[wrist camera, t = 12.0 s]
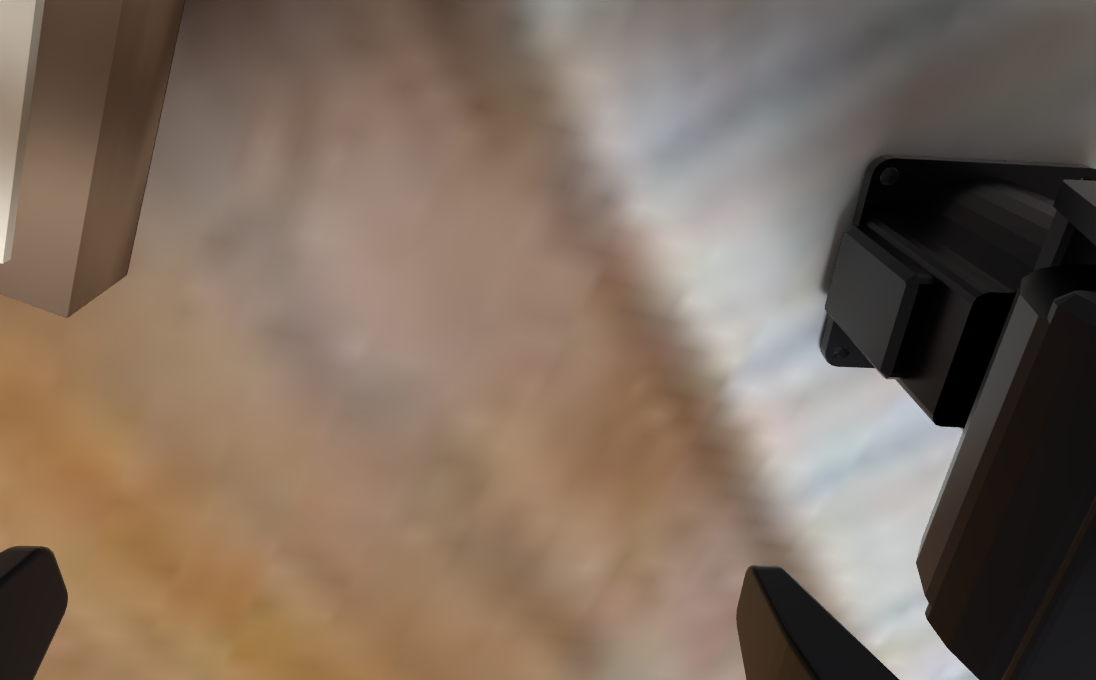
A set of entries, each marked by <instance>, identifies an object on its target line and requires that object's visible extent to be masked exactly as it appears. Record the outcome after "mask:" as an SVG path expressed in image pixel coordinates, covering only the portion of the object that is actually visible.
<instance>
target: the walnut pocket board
mask: <svg viewBox="0 0 1096 680" xmlns="http://www.w3.org/2000/svg"><path fill="white" fill-rule="evenodd" d="M184 1H185V0H0V294H1V295H4V296H7V297H10V298H12V299H15V300H18V301H21V302H23V303H26V304H29V305H32V306H34V307H37V308H40V309H43V310H45V311H48V312H51V313H54V314H57V315H59V316H62V317H65V318H68V317H69V316H71V315H72V314H74V313H75V312H76V311H78V310H79V309H80V308H82V307H83V306H85V305H86V304H87V303H89V302H90V301H92V300H93V299H94V298H96V297H97V296H99V295H100V294H101V293H103V292H104V291H105V290H107V289H108V288H110V287H111V286H112V285H114V284H115V283H117V282H118V281H119V280H121V279H122V278H124V277H125V276H126V275H127V271H128V266H129V261H130V257H131V252H132V247H133V242H134V238H135V233H136V228H137V224H138V219H139V214H140V209H141V205H142V200H143V195H144V190H145V186H146V181H147V176H148V171H149V167H150V162H151V157H152V153H153V148H154V143H155V138H156V134H157V129H158V124H159V119H160V115H161V110H162V105H163V100H164V96H165V91H166V86H167V82H168V77H169V72H170V67H171V63H172V58H173V53H174V48H175V44H176V39H177V34H178V29H179V25H180V20H181V15H182V11H183V6H184Z"/></svg>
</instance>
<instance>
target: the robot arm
mask: <svg viewBox="0 0 1096 680" xmlns="http://www.w3.org/2000/svg"><path fill="white" fill-rule="evenodd" d="M890 167H892V175H891V177H890V178H889V179H888V180H886V181H883V182H881V181H880V176H881V174H882V172H883V171H884V170H885V169H886V168H890ZM1081 178H1084V179H1083V180H1080V179H1081ZM825 310H826V311H827V312H828V314H829V316H828V320H827V324H826V328H825V332H824V336H823V340H822V344H821V353H822V355H823V357H824V358H825V359H826V361H827V362H828V363H829V364H831V365H833V366H837V367H861V368H876V369H877V370H878V371H879V373H880V374H881V375H882V376H883V377H884V378H886V379H895V380H896V381H897V382H898V383H899V384H900V385H901V386H902V387H903V389H904V390H905V391H906V392H907V393H908V394H909V395H910V396H911V398H912V399H913V400H914V401H915V402H916V403H917V404H918V405H919V407H920V408H921V409H922V410H923V411H924V412H925V413H926V414H927V416H928V417H929V418H930V419H931V420H932V421H933V422H934V423H935V424H936V425H938V426H942V427H960V428H961V429H962V430H963V433H962V436H961V438H960V441H959V443H958V446H957V449H956V451H955V454H954V457H953V459H952V462H951V464H950V467H949V470H948V472H947V475H946V477H945V480H944V483H943V485H942V488H941V490H940V493H939V496H938V498H937V501H936V503H935V506H934V509H933V511H932V514H931V516H930V519H929V522H928V524H927V527H926V530H925V532H924V535H923V537H922V541H921V545H920V549H919V553H918V557H917V561H916V564H917V568H918V572H919V575H920V579H921V583H922V586H923V590H924V594H925V596H926V598H927V600H928V602H929V604H928V606H927V609H926V612H925V615H926V618H927V620H928V622H929V623H930V624H931V626H932V627H933V629H934V630H935V631H936V633H937V634H938V636H939V637H940V638H941V640H942V641H943V643H944V644H945V645H946V647H947V648H948V649H949V650H950V651H951V652H952V653H953V654H954V655H955V656H956V657H957V658H958V659H959V660H960V661H961V662H962V663H963V664H964V665H965V666H966V667H967V668H968V669H969V670H970V671H971V672H972V673H973V674H974V675H975V676H976V677H977V678H978V679H979V680H1096V169H1093V168H1090V167H1087V166H1084V165H1077V164H1057V163H1038V162H1018V161H998V160H979V159H959V158H939V157H920V156H900V155H884V156H880V157H878V158H876V159H874V160H873V161H872V162H871V163H870V164H869V166H868V168H867V170H866V173H865V177H864V180H863V184H862V188H861V192H860V196H859V200H858V204H857V208H856V212H855V215H854V219H853V223H852V226H850V227H849V228H848V229H847V230H846V231H845V232H844V233H843V237H842V241H841V245H840V249H839V253H838V257H837V260H836V264H835V268H834V272H833V276H832V280H831V284H830V288H829V292H828V296H827V300H826V304H825ZM841 345H845V347H844V349H843V350H842V351H841V352H840V353H836V354H834V353H833V352H834V350H835V348H837V347H838V346H841ZM67 602H68V593H67V589H66V586H65V584H64V581H63V578H62V575H61V572H60V570H59V567H58V564H57V561H56V558H55V556H54V554H53V552H52V551H51V550H50V549H49V548H46V547H42V546H15V547H11V548H8V549H6V550H4V551H3V552H1V553H0V680H33V679H34V677H35V675H36V673H37V671H38V669H39V667H40V664H41V662H42V660H43V658H44V656H45V654H46V652H47V650H48V647H49V645H50V643H51V641H52V639H53V637H54V635H55V633H56V630H57V628H58V626H59V624H60V622H61V620H62V618H63V616H64V613H65V611H66V607H67ZM736 620H737V629H738V635H739V641H740V646H741V652H742V657H743V663H744V668H745V674H746V680H899V679H898V678H897V677H896V676H895V675H894V674H893V673H892V672H891V671H889V670H888V669H887V668H886V667H885V666H884V665H883V664H882V663H881V662H880V661H879V660H878V659H877V658H876V657H875V656H874V655H873V654H872V653H871V652H870V651H869V650H868V649H867V648H865V647H864V646H863V645H862V644H861V643H860V642H859V641H858V640H857V639H856V638H855V637H854V636H853V635H852V634H851V633H850V632H849V631H848V630H847V629H846V628H845V627H844V626H843V625H842V624H840V623H839V622H838V621H837V620H836V619H835V618H834V617H833V616H832V615H831V614H830V613H829V612H828V611H827V610H826V609H825V608H824V607H823V606H822V605H821V604H820V603H819V602H818V601H816V600H815V599H814V598H813V597H812V596H811V595H810V594H809V593H808V592H807V591H806V590H805V589H804V588H803V587H802V586H801V585H800V584H799V583H798V582H797V581H796V580H795V579H794V578H792V577H791V576H790V575H789V574H788V573H787V572H786V571H785V570H784V569H783V568H781V567H779V566H771V565H752V566H750V567H749V568H748V569H747V571H746V574H745V578H744V582H743V586H742V590H741V594H740V598H739V602H738V607H737V614H736Z"/></svg>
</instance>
